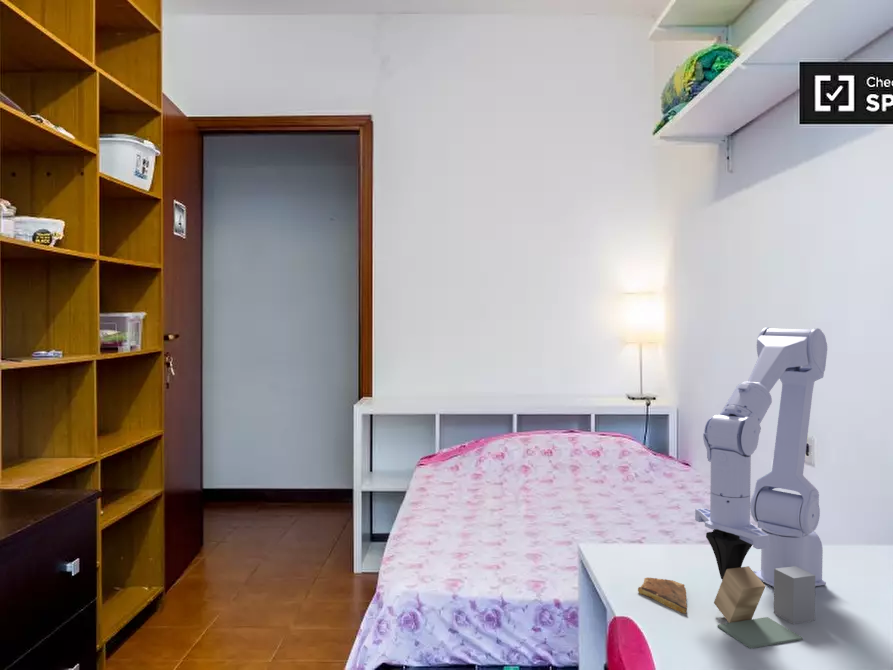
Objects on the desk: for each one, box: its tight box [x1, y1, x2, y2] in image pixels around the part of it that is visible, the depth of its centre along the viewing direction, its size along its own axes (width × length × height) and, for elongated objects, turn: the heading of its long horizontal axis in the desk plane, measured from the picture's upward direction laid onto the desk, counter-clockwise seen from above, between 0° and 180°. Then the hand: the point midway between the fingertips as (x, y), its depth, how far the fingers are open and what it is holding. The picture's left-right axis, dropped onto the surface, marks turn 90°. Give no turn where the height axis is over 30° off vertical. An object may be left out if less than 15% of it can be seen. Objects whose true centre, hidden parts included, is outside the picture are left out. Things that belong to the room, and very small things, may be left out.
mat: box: [717, 616, 804, 649], centre depth 102 cm, size 9×7×1 cm
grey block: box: [773, 566, 816, 625], centre depth 107 cm, size 4×4×7 cm
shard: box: [637, 577, 688, 615], centre depth 114 cm, size 11×8×2 cm
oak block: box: [713, 566, 766, 623], centre depth 106 cm, size 4×4×7 cm
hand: (729, 579), depth 108 cm, fingers closed
